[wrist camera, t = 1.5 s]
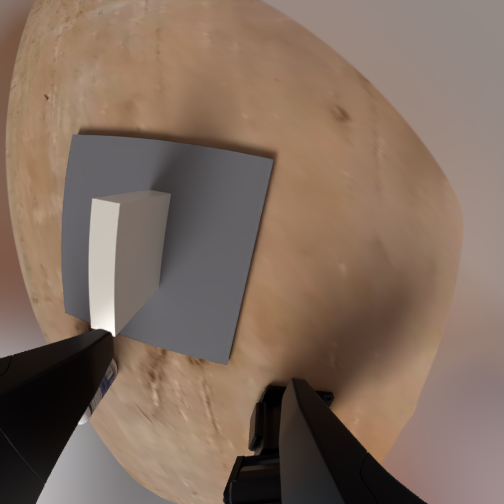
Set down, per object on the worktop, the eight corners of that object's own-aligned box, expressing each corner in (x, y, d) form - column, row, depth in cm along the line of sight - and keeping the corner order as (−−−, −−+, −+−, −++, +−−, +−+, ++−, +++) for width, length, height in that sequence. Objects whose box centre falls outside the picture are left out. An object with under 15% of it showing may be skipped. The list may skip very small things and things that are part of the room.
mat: (273, 160, 17) (273, 159, 17) (228, 360, 21) (227, 364, 21) (77, 135, 17) (72, 134, 16) (68, 309, 21) (65, 312, 21)
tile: (171, 193, 17) (119, 203, 11) (158, 288, 19) (115, 336, 13) (148, 189, 17) (89, 197, 11) (138, 282, 19) (89, 326, 13)
